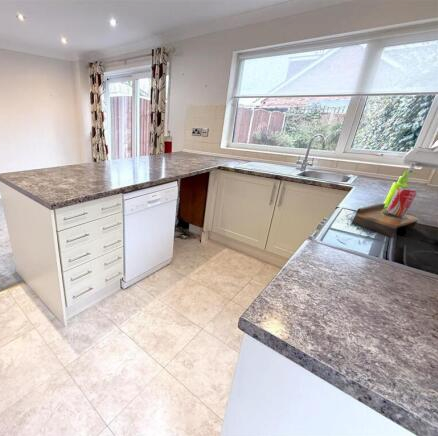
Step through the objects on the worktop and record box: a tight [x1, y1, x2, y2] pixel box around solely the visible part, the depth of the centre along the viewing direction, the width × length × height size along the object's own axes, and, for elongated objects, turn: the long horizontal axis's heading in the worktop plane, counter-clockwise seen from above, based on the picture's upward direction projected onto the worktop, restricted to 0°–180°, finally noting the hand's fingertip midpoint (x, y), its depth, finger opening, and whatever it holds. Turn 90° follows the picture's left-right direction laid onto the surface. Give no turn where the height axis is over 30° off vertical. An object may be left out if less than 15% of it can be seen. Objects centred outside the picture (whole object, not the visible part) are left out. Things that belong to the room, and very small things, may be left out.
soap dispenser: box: [383, 170, 419, 209], centre depth 130 cm, size 6×7×20 cm
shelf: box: [351, 202, 420, 238], centre depth 108 cm, size 14×22×7 cm, turn 117°
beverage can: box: [386, 187, 417, 216], centre depth 106 cm, size 6×6×12 cm
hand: (424, 174), depth 105 cm, fingers open, 8 cm apart
